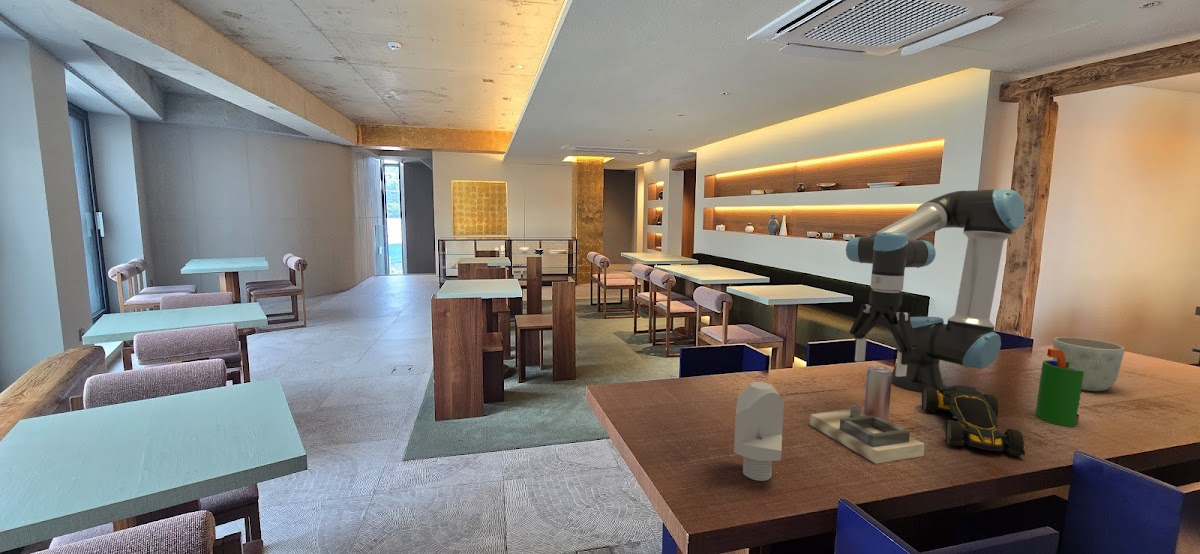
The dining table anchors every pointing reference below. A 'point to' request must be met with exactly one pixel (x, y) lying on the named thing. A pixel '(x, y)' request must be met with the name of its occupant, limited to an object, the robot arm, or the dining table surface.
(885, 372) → the beverage can
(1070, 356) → the planter
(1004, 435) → the toy car
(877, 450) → the board
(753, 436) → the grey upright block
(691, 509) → the dining table surface
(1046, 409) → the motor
